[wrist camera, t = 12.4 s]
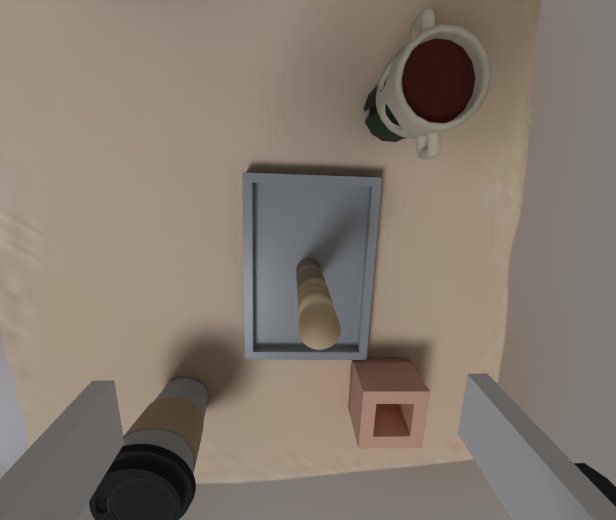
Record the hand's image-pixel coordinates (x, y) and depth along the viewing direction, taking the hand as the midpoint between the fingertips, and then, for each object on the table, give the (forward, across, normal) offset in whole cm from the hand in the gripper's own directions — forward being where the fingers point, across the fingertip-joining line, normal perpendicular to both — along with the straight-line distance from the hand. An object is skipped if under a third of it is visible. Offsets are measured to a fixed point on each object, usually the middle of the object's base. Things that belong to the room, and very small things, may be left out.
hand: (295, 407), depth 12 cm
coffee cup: (+28, -14, -21) cm, 37 cm away
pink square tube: (+28, +12, -19) cm, 36 cm away
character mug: (+29, +11, +15) cm, 34 cm away
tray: (+28, +2, -3) cm, 28 cm away
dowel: (+27, +2, -3) cm, 27 cm away
